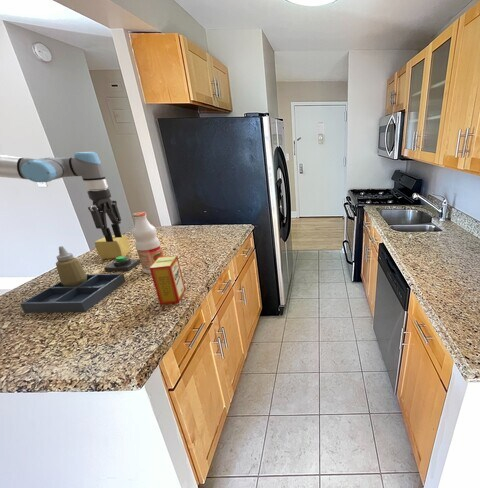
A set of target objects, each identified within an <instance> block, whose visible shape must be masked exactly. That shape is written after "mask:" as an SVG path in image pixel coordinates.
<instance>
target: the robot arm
mask: <svg viewBox="0 0 480 488" xmlns="http://www.w3.org/2000/svg"><path fill="white" fill-rule="evenodd" d="M73 155H74V156H73V157H71V156H70V157H41V158H30V157H29V158H28V157H20V156H11V155H4V154H0V178H8V179H9V178H10V179H19V180H20V179H21V180H27V181H31V182H34V183H49V182H51V181H54V180H59V179H61V178H68V177H69V178H70V177H71V178H72V177H81V178H82V180H83V183H84V186H85V189H86V190H87V191H86V192H87V195H88V198H89V200H91V202H92V206H88V207H87V209H88V211H89V212H90V215H91V217H92V221H93V223H94V226H95V228H96V229H100V230H101V233H102V235H103V236H104V238H105V239H106V242H113V238H112V236H113V235H115V238H121V237H122V235H123V234H122V232H121V227H120V225H121V223H122V217H121V214H120V212H119V208H118V201H117V200H112V199H111V198H112V193H111V190H110V189H109V184H108V181H107V178H106V176H105V173H104V169H103V165H102V162H101V159H100V157H99V155H98V153H97V152H95V151H77V152H74V153H73ZM107 216H108V218H109V220H110V222H111V223H112V224H111V225H110V227H111V228H112V229H110V227H108V221H107ZM111 230H112V231H113V235H112V232H111Z"/></svg>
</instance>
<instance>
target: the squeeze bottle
mask: <svg viewBox="0 0 480 488" xmlns="http://www.w3.org/2000/svg"><path fill="white" fill-rule="evenodd" d="M55 266H56V270H57V273H58V277H59V280H60V281H61V284H63V285H64V286H65V287H77V286H79V285H80V284H82V283H84V282H85V281H87V275H86V274H87V273H86V272H85V269H84V268H83V266H82V264H81V262H80V261H79V259H78V258H77V257H74V255H73V253H71V252H68V251H67V249H65V247H64V246H63V245H61V246H58V255H56V262H55ZM60 281H59V282H60Z"/></svg>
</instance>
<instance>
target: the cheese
mask: <svg viewBox="0 0 480 488" xmlns="http://www.w3.org/2000/svg"><path fill="white" fill-rule="evenodd" d="M121 235H122V237H121V238H115V235H114V234H113V235H112V238H113V242H106V239H105V237H102V238H99V239H97V240H96V241H94V246H95V249H96V252H97V254H98V256H99V257H100V259H101V260H108V259H109V260H110V259H116V258H117V257H119V256H126V255H127V254H128V253H130V252H131V251H132V250H131V246H130V242H129V239H128V236H127V235H126V234H121Z"/></svg>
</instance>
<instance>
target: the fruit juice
mask: <svg viewBox="0 0 480 488" xmlns="http://www.w3.org/2000/svg"><path fill="white" fill-rule="evenodd" d="M147 215H148V214H147V212H146V211H138V212H134V213H132V217H133V218H134V227H133V229H132V233H131V234H132V237H133V238H134V239H135V243H134V244H135V245H134V246H135V249H136V253H137V255H138V259H140V262H141V263H140V265H141V269H142V271H143V273H144V274H147V275H151V271H150V267H151V266H152V265H153V264H154V263H155V261H156V260H157V259H158V258H159V257H165V256H164V253H163V249H162V245H161V241H160V240H159V239H160V238H159V237H158V235H157V233H158V231H157V227H155V226H154V225H153V224H151V222H150V221H149V220H148V218H147Z"/></svg>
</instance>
